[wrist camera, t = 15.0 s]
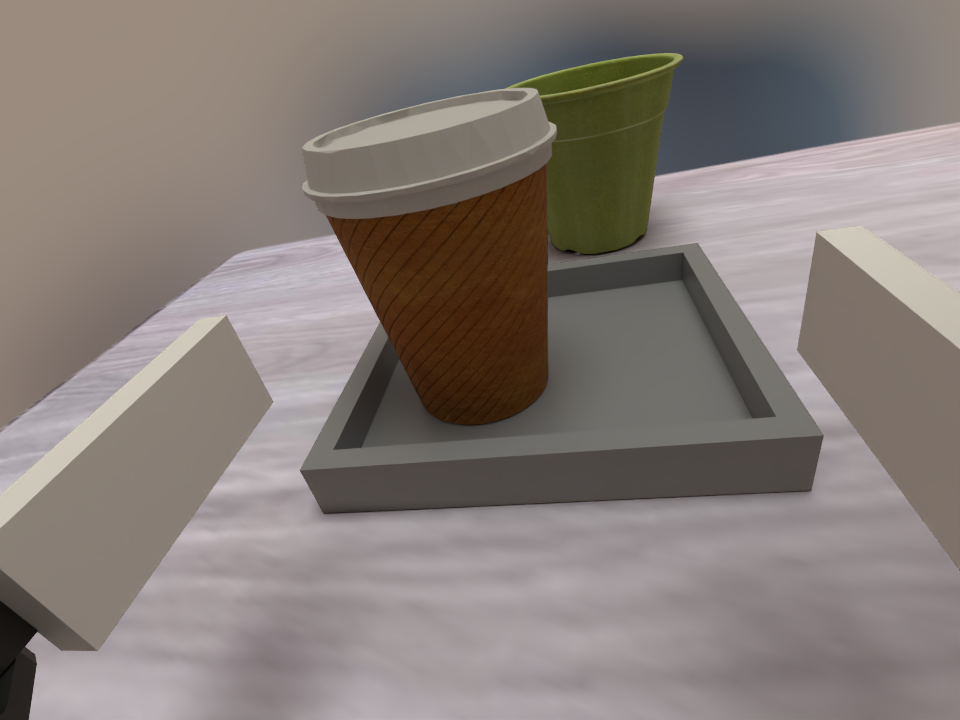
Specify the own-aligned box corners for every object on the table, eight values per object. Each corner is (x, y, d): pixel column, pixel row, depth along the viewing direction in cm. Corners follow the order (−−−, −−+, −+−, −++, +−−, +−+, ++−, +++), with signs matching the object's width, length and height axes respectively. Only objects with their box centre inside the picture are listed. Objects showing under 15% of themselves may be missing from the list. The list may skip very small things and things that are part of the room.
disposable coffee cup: (352, 404, 25) (244, 156, 19) (483, 316, 30) (433, 96, 24) (486, 487, 19) (393, 156, 12) (624, 359, 24) (608, 73, 17)
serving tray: (696, 282, 30) (697, 243, 29) (811, 490, 17) (823, 435, 16) (410, 318, 34) (400, 285, 32) (323, 513, 21) (300, 470, 19)
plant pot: (497, 243, 42) (468, 95, 36) (614, 201, 45) (606, 57, 39) (574, 288, 33) (554, 97, 27) (717, 230, 36) (728, 46, 30)
